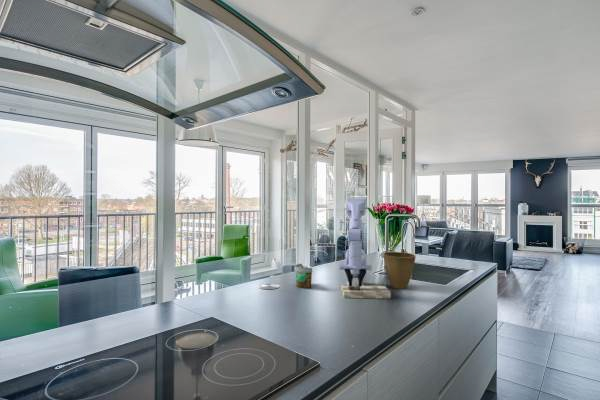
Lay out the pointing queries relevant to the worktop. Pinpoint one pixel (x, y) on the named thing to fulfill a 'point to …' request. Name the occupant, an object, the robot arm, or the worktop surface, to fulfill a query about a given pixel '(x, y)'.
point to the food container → (303, 276)
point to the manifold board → (366, 292)
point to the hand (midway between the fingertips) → (355, 285)
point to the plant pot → (399, 268)
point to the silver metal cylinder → (355, 281)
